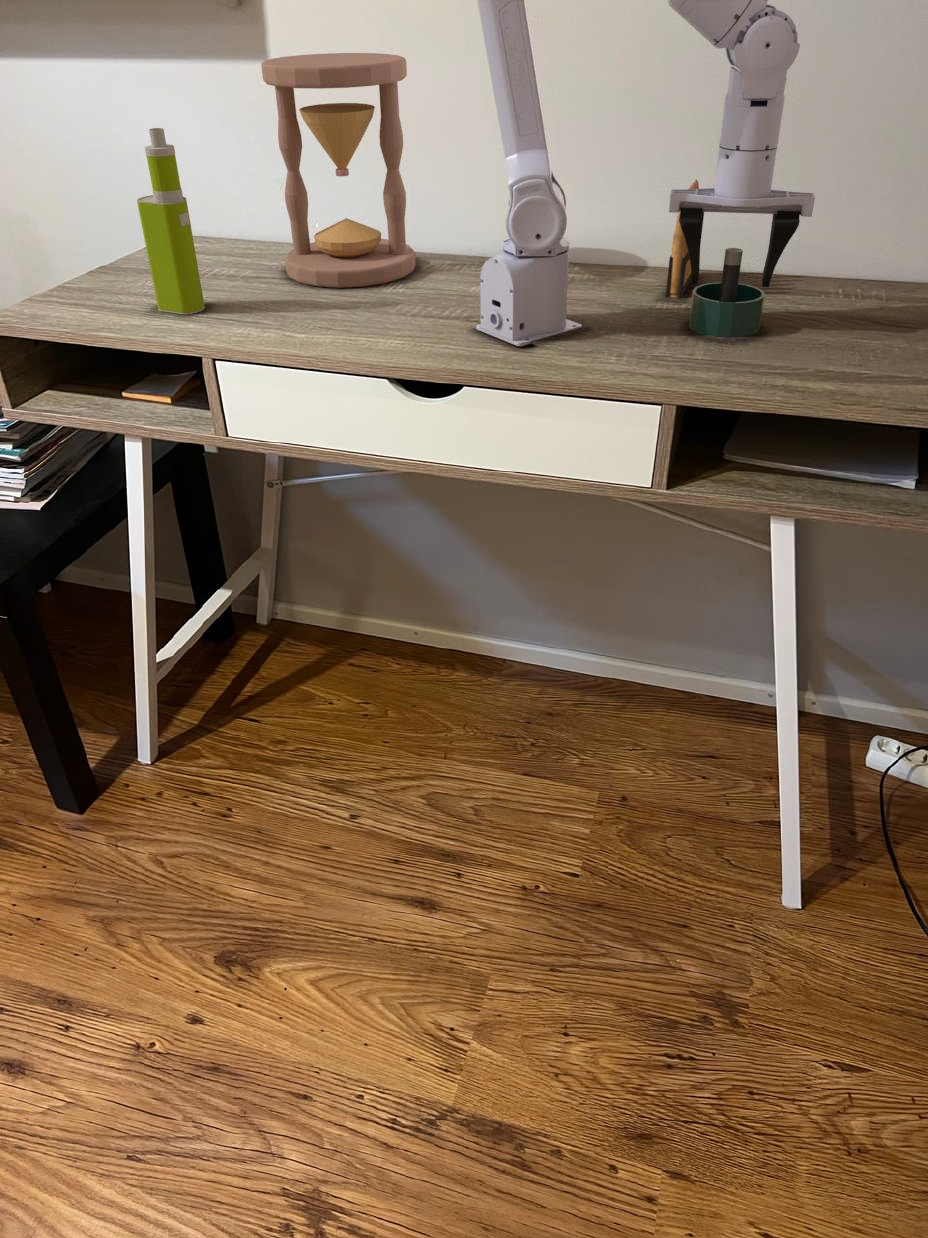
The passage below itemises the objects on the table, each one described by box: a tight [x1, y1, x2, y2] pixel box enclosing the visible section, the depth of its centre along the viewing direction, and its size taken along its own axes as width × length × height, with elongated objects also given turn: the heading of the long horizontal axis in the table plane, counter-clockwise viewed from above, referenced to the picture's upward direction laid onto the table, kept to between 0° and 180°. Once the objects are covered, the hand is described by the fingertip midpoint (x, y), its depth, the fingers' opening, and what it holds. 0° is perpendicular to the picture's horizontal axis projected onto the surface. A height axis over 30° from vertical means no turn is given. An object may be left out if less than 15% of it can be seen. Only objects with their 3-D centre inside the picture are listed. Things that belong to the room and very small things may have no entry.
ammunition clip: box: [665, 179, 700, 299], centre depth 119 cm, size 11×2×12 cm, turn 160°
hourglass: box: [260, 52, 417, 289], centre depth 126 cm, size 18×18×25 cm
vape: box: [136, 127, 206, 315], centre depth 114 cm, size 4×6×20 cm, turn 64°
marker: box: [719, 247, 744, 302], centre depth 107 cm, size 2×2×8 cm
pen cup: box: [688, 282, 766, 339], centre depth 108 cm, size 8×8×4 cm
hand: (729, 282), depth 106 cm, fingers open, 7 cm apart
